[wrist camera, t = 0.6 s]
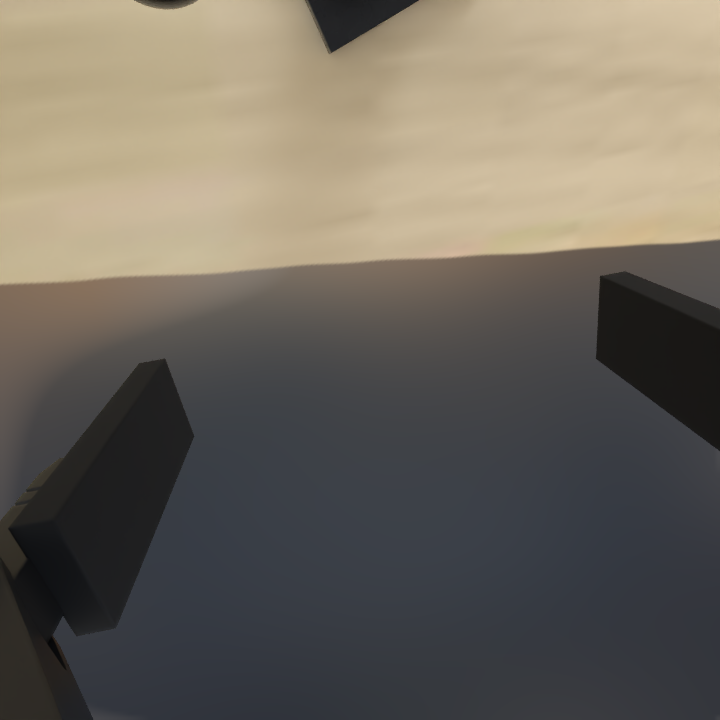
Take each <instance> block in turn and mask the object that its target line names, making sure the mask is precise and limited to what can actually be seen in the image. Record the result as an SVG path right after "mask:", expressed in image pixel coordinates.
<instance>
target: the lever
mask: <svg viewBox="0 0 720 720" xmlns="http://www.w3.org/2000/svg"><path fill="white" fill-rule="evenodd" d="M134 1H136V2H138V3H141V4H143V5H146V6H149V7H153V8H159V9H177V8H182V7H185V6H188V5H190V4H193V3H194V2H196V1H198V0H134Z"/></svg>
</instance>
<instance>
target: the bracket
mask: <svg viewBox="0 0 720 720" xmlns="http://www.w3.org/2000/svg"><path fill="white" fill-rule="evenodd" d="M305 1H306V3H307V5H308V8H309V10H310V12H311V14H312V17H313V19H314V21H315V23H316V25H317V28H318V30H319V32H320V34H321V37H322V39H323V41H324V43H325V46H326V48H327V50H328V52H329V54H330V53H332V52H334V51H335V50H337V49H339V48H340V47H342V46H344V45H345V44H347V43H349V42H350V41H352V40H354V39H355V38H357V37H359V36H360V35H362V34H364V33H365V32H367V31H369V30H370V29H372V28H374V27H375V26H377V25H379V24H380V23H382V22H384V21H385V20H387V19H389V18H390V17H392V16H394V15H395V14H397V13H399V12H400V11H402V10H404V9H405V8H407V7H409V6H410V5H412V4H414V3H415V2H417V1H419V0H305Z"/></svg>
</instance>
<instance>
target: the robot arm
mask: <svg viewBox="0 0 720 720" xmlns="http://www.w3.org/2000/svg"><path fill="white" fill-rule="evenodd" d="M596 359H597V360H599V361H600V362H601V363H602V364H604V365H605V366H607V367H608V368H609V369H610V370H612V371H613V372H614V373H616V374H617V375H619V376H620V377H621V378H622V379H624V380H625V381H626V382H628V383H629V384H631V385H632V386H633V387H635V388H636V389H637V390H639V391H640V392H641V393H643V394H644V395H645V396H647V397H648V398H650V399H651V400H652V401H653V402H655V403H656V404H657V405H659V406H660V407H661V408H663V409H664V410H666V411H667V412H668V413H669V414H671V415H673V417H675V418H676V419H678V420H679V421H680V422H682V423H683V424H684V425H686V426H687V427H688V428H690V429H691V430H692V431H694V432H695V433H696V434H698V435H699V436H700V437H702V438H703V439H704V440H706V441H707V442H708V443H710V444H711V445H712V446H714V447H715V448H717V449H718V450H719V451H720V309H719V308H716V307H714V306H711V305H708V304H706V303H703V302H701V301H698V300H696V299H693V298H691V297H688V296H686V295H683V294H681V293H678V292H676V291H673V290H671V289H668V288H666V287H663V286H661V285H658V284H656V283H653V282H651V281H648V280H646V279H643V278H640V277H638V276H635V275H633V274H630V273H628V272H620V273H614V274H609V275H605V276H600V291H599V311H598V331H597V353H596ZM193 438H194V434H193V432H192V429H191V426H190V424H189V421H188V418H187V416H186V413H185V410H184V408H183V405H182V402H181V400H180V397H179V394H178V392H177V389H176V387H175V384H174V381H173V378H172V376H171V373H170V371H169V368H168V365H167V362H166V360H165V359H160V360H155V361H150V362H144V363H139V364H138V366H137V367H136V368H135V369H134V371H133V372H132V373H131V374H130V376H129V377H128V378H127V380H126V381H125V382H124V383H123V385H122V386H121V387H120V388H119V390H118V391H117V392H116V393H115V395H114V396H113V397H112V398H111V400H110V401H109V402H108V403H107V405H106V406H105V407H104V408H103V410H102V411H101V412H100V413H99V415H98V416H97V417H96V418H95V420H94V421H93V422H92V424H91V425H90V426H89V427H88V429H87V430H86V431H85V432H84V433H83V435H82V436H81V437H80V439H79V440H78V441H77V442H76V443H75V445H74V446H73V447H72V449H71V450H70V451H69V452H68V454H67V455H66V456H65V457H64V458H60V459H58V460H57V461H56V462H54V463H53V464H52V465H51V466H49V467H48V468H47V469H45V470H44V471H43V472H42V473H40V474H39V475H38V476H37V478H36V479H35V480H34V481H33V482H32V484H31V485H30V486H29V487H28V488H27V492H26V493H23V494H22V496H21V497H20V498H19V499H18V500H17V502H16V503H15V504H16V506H13V507H12V508H11V509H10V510H9V511H8V513H7V514H6V515H5V516H4V517H3V518H2V520H1V521H0V720H93V718H92V716H91V713H90V711H89V709H88V707H87V705H86V702H85V700H84V698H83V696H82V694H81V692H80V689H79V687H78V685H77V683H76V680H75V678H74V676H73V674H72V672H71V670H70V667H69V665H68V663H67V661H66V658H65V656H64V654H63V652H62V650H61V647H60V646H59V644H58V643H57V641H56V640H55V638H54V637H53V633H54V631H55V629H56V628H57V626H58V624H59V622H60V620H61V618H62V616H64V618H65V619H66V621H67V622H68V624H69V626H70V627H71V629H72V630H73V632H74V633H75V635H76V636H79V635H85V634H90V633H95V632H99V631H104V630H110V629H114V628H116V627H117V624H118V622H119V620H120V617H121V615H122V612H123V610H124V607H125V605H126V602H127V600H128V597H129V595H130V592H131V590H132V587H133V585H134V583H135V580H136V578H137V575H138V573H139V570H140V568H141V565H142V563H143V561H144V558H145V556H146V553H147V551H148V548H149V546H150V543H151V541H152V538H153V536H154V533H155V530H156V529H157V526H158V524H159V521H160V519H161V516H162V514H163V511H164V509H165V506H166V504H167V502H168V499H169V497H170V494H171V492H172V489H173V487H174V484H175V482H176V479H177V477H178V475H179V472H180V470H181V467H182V465H183V462H184V460H185V457H186V455H187V452H188V450H189V448H190V445H191V443H192V440H193Z"/></svg>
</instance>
